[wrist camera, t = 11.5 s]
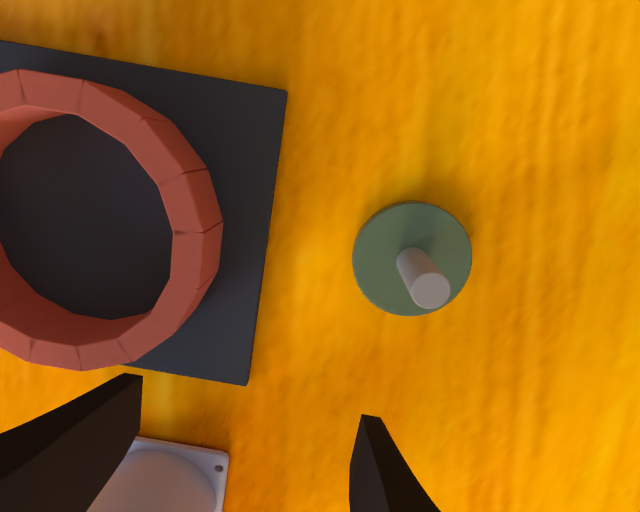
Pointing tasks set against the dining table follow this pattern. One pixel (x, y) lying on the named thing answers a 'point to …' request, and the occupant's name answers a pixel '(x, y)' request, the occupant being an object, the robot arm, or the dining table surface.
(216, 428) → the dining table surface
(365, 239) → the post stand
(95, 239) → the mat
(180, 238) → the ring
